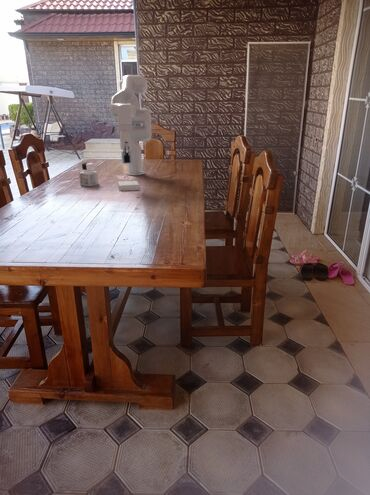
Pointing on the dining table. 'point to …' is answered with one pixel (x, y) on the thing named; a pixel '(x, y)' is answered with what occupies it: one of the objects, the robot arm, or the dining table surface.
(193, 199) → the dining table surface
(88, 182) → the container
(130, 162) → the blue block
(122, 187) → the base tile
